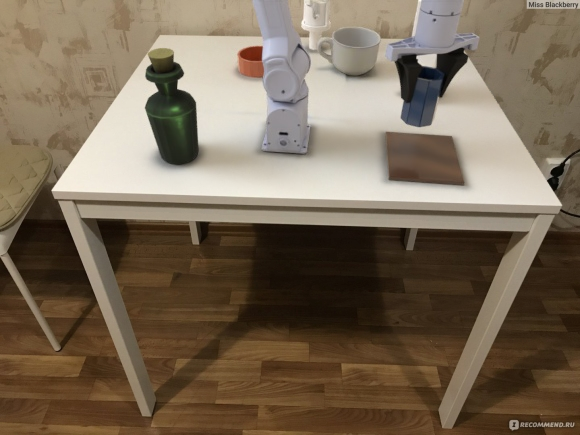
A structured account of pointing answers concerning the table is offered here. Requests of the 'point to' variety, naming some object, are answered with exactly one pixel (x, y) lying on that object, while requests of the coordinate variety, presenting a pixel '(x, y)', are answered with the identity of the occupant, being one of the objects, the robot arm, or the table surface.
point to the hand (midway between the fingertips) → (421, 97)
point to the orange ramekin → (251, 61)
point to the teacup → (352, 49)
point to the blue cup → (424, 98)
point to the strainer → (316, 20)
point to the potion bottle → (171, 109)
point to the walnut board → (422, 158)
